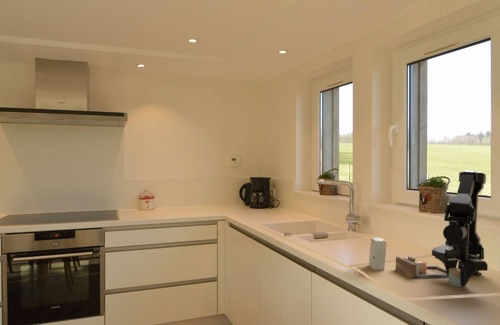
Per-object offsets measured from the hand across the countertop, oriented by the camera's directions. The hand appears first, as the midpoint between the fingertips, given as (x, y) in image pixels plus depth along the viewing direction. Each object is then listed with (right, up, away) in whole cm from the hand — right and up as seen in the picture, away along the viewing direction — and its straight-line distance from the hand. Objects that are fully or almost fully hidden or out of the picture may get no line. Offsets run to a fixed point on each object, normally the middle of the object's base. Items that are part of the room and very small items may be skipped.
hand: (456, 283), depth 121 cm
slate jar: (0, -1, 0) cm, 1 cm away
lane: (-5, -1, +11) cm, 12 cm away
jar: (-8, 0, +11) cm, 13 cm away
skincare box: (-22, -1, +16) cm, 27 cm away
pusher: (-11, 0, +10) cm, 15 cm away
